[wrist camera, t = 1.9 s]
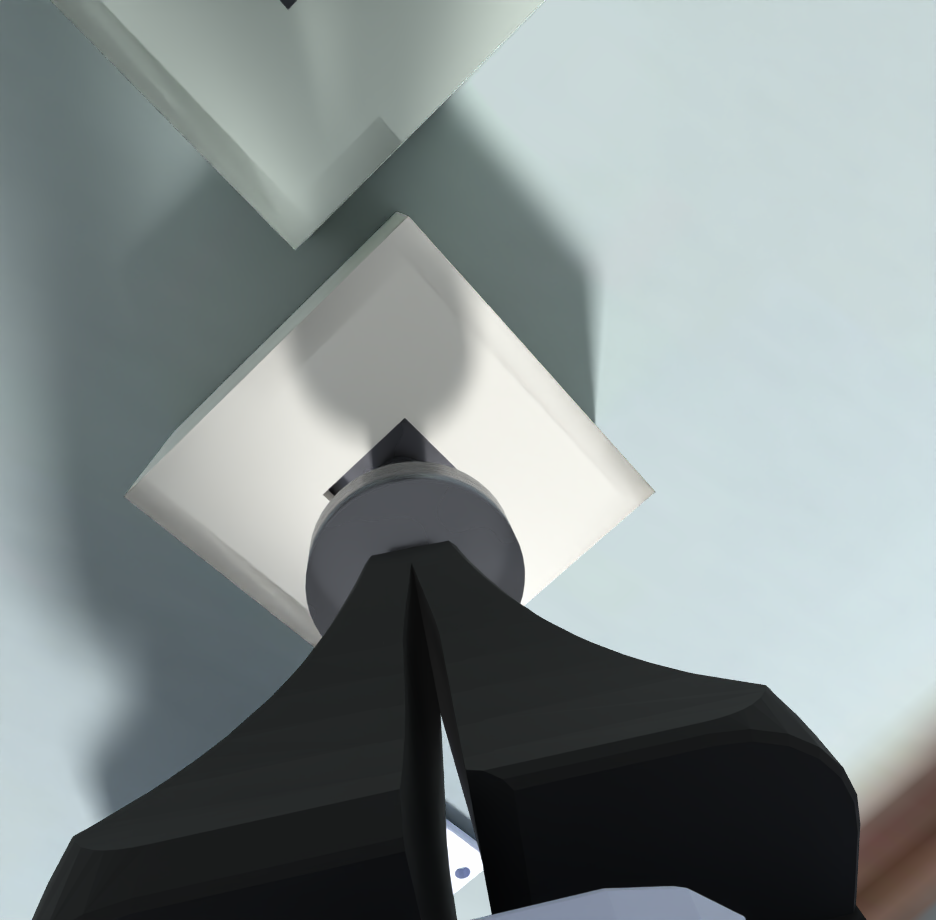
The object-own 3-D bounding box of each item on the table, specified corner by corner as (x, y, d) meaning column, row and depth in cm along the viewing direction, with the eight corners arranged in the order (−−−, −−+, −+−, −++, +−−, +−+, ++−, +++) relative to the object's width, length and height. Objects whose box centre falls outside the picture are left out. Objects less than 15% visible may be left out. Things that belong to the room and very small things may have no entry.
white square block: (390, 615, 22) (398, 714, 18) (174, 430, 19) (123, 496, 15) (595, 432, 21) (655, 491, 17) (396, 211, 18) (408, 216, 14)
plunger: (397, 615, 18) (412, 767, 13) (234, 475, 17) (183, 592, 12) (556, 473, 18) (632, 579, 13) (403, 312, 16) (423, 363, 11)
